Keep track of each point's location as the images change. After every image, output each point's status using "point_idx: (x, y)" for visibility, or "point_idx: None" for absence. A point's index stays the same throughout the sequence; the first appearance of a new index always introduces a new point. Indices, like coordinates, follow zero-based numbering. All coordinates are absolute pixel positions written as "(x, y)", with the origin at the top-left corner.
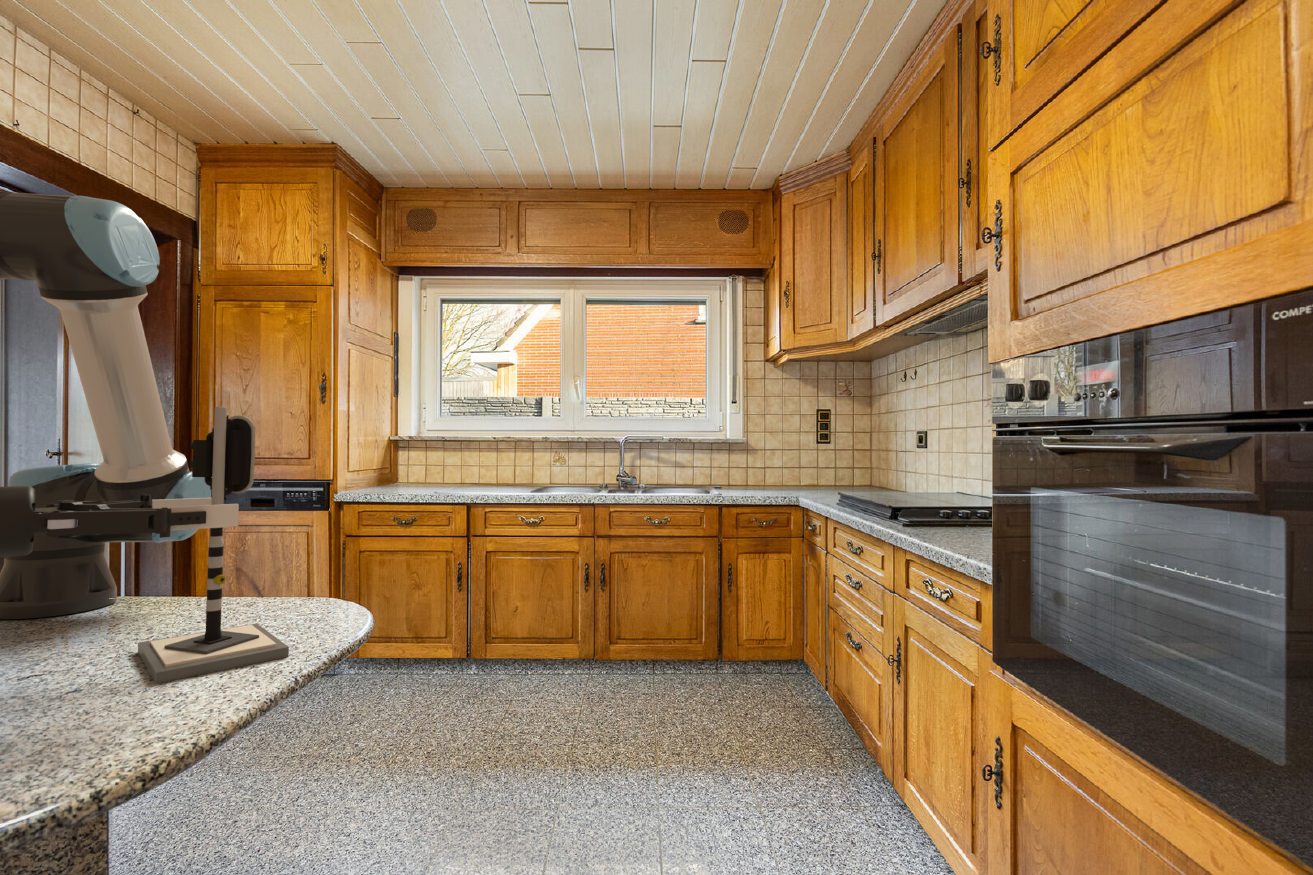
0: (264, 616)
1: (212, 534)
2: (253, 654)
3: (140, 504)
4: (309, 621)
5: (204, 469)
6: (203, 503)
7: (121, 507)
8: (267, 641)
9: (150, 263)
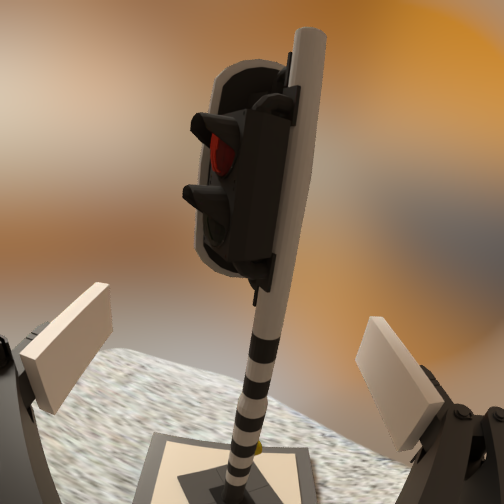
0: (89, 399)
1: (265, 394)
2: (312, 477)
3: (18, 392)
4: (162, 392)
5: (273, 229)
6: (100, 307)
7: (33, 461)
8: (277, 457)
9: None
